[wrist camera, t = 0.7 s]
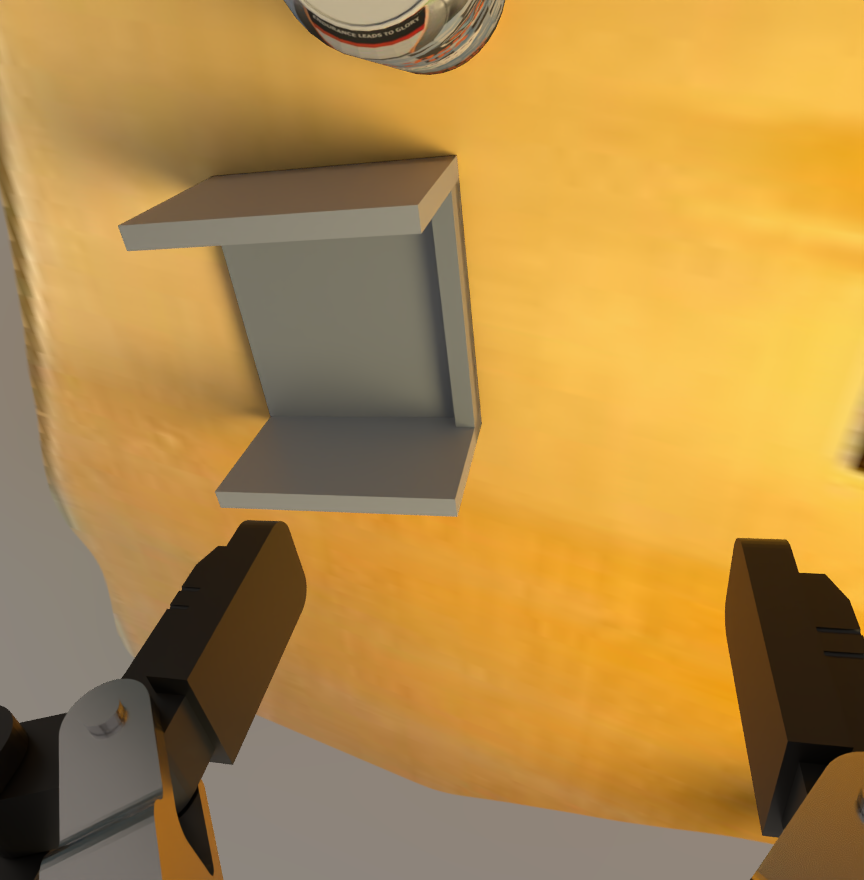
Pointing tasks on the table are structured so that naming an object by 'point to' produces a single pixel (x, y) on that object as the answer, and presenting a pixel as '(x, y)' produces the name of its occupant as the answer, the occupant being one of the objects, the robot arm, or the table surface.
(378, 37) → the beverage can
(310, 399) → the holder
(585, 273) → the table surface
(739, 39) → the table surface
